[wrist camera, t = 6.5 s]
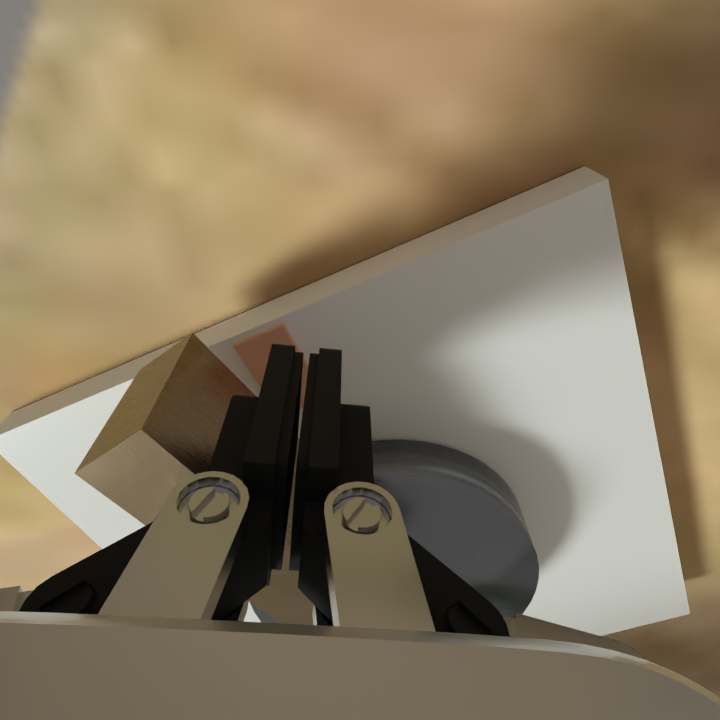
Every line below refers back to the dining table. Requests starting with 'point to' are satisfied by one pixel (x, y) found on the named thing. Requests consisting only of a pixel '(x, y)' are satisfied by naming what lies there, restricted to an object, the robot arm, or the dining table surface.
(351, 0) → the dining table surface
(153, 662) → the robot arm
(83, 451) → the base plate
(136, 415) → the cam dial
